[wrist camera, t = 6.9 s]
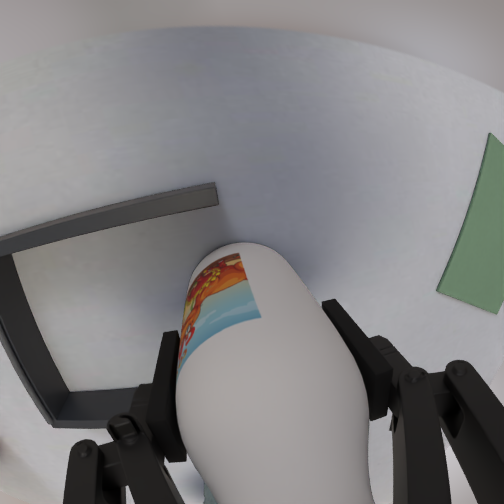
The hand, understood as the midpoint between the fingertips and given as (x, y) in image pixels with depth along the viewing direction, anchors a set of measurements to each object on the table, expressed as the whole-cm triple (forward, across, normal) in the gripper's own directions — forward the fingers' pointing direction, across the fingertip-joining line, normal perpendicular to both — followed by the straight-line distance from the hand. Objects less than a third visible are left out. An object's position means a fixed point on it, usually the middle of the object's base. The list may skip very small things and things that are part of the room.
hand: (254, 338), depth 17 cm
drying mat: (+7, +26, 0) cm, 27 cm away
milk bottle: (+6, 0, 0) cm, 6 cm away
